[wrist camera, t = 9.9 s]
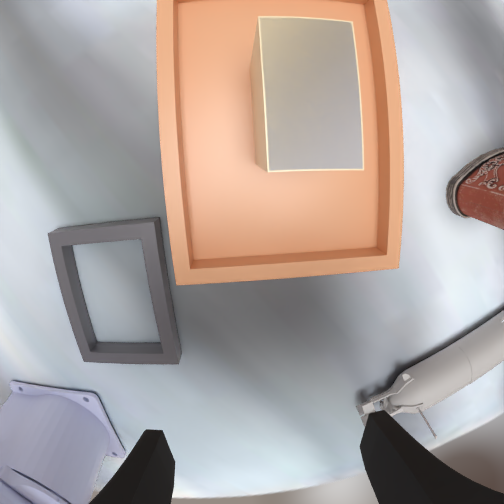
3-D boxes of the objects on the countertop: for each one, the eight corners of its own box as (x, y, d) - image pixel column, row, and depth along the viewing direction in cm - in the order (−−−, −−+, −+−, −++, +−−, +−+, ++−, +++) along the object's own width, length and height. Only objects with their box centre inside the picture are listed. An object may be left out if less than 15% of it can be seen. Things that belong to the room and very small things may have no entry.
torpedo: (525, 276, 19) (575, 308, 13) (523, 318, 21) (566, 353, 15) (346, 381, 21) (375, 448, 15) (359, 417, 22) (384, 478, 16)
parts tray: (182, 271, 17) (176, 285, 16) (165, -1, 13) (157, -17, 11) (383, 256, 18) (398, 268, 16) (370, 0, 13) (383, -14, 11)
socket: (90, 351, 19) (83, 361, 18) (57, 228, 16) (47, 233, 15) (181, 352, 19) (178, 364, 18) (159, 217, 17) (154, 222, 15)
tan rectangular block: (255, 164, 15) (267, 172, 9) (249, 67, 14) (258, 16, 8) (315, 162, 15) (364, 170, 9) (309, 67, 14) (352, 21, 8)
